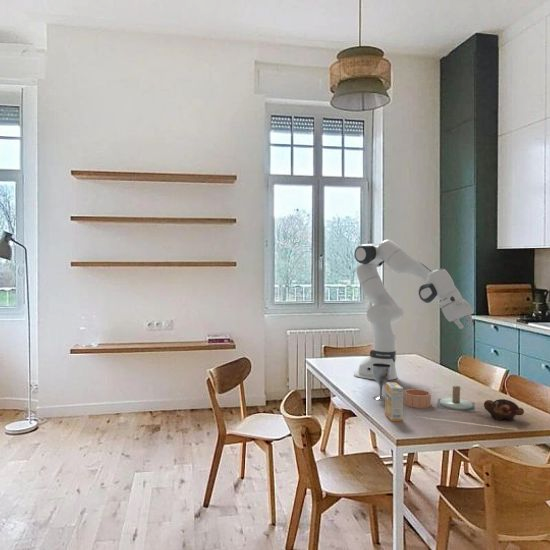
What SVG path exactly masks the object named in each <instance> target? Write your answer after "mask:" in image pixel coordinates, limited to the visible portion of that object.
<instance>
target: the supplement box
mask: <svg viewBox="0 0 550 550" xmlns="http://www.w3.org/2000/svg"><path fill="white" fill-rule="evenodd" d="M384 394H385V395H384V397H385V401H384V415H385V416H386V417H387V418H388V419H389V420H390V421H391V422H403V416H404V414H403V412H404V387H403V386H402V385H400V384H399V383H397V382H385V392H384Z"/></svg>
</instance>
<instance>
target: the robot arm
mask: <svg viewBox="0 0 550 550" xmlns="http://www.w3.org/2000/svg"><path fill="white" fill-rule="evenodd" d="M353 257H354V259H355V260H356V262H357V263H359V264H358V265H357V266H356V270H355V271H356V276H357V278H358V281H359V284H360V287H361V288H362V291H363V293H364V296H365V297H366V299H367V300H368V301H370V302H371V303H372V304H373V305H371V306H370V307H369V308H368V309H367V310H366V319H367V320H368V322H369V323H370V325H371V327H372V333H373V348H371V349H370V350H369V356H368V357H367V358H365V359H363V360H362V361H361V362H360V363H359V365H358V370H356V371H355V372H353V373H354V374H353V376H354V377H356V378H362V379H368V380H374V381H376V379H375V378H374V376H373V370H372V365H373V364H374V363H384V364H389V365H391V371H390V376H389V378H388V380H387V381H390V380H391V381H392V380H397V379H398V374H397V368H396V361H397V352H396V351H397V350H396V335H395V334H394V332H393V329H392V324H395V323H398V322H399V321H400V320H401V319H402V318H403V316H404V309H403V307H402V306H401V305H400V304H398V303H397V302H396V301H395V299H394V298H393V297H392V296H391V295H390V294H389V292H388V291H387V288H386V287H385V285H384V283H383V281H382V279H381V276H380V274H379V272H378V269H377V268H378V267H382V265H383V264H384V263H385V264H386V265H387V266H389V268H390V269H392V270H393V271H394V272H396V273H397V274H409V275H414V276H416V277H418V278H419V279H421V280H422V281H424V283H423V284H422V285H421V286H419V288H418V296H419V298H420V300H421V301H422V302H423V303H426V304H430V303H431V304H432V303H435V302H438V304H437V305H438V308H439V309H441V312H442V314H443V316H444V317H445V319H446V320H447V321H448V322H450V323H451V322H453V323H454V324H455V325H456V326H457V327H458V329H460V330H462V329H463V328H465V326H464V323H462V322H461V320H460V319H462V318H465V319H466V321H467V324H468V326H472V325H474V322H473V319H472V314H474V309H473V308H472V306H471V304H470V303H469V302H468V301H467V299H464V298H463V297H462V293H460V290H459V289H458V287H456V285H455V283H454V280H453V278H452V277H451V275H450V273H449V272H448V271H447V270H446V269H445V268H438V269H434V270H431V269H429V268H428V267H427V266H426V265H424V264H423V263H422V262H420V261H419V260H417V259H416V258H414V257H413V256H411V255H410V254H409V253H407V251H405V250H404V249H403V248H402V246H400V245H399V244H397V243H396V242H394V241H393V240H391V239H385V240H382V241H381V242H380V243H375V242H374V243H373V242H372V243H371V242H370V243H365V244H360V245H358V246H357V247H356V248H355V250H354V253H353Z"/></svg>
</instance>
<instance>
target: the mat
mask: <svg viewBox="0 0 550 550" xmlns="http://www.w3.org/2000/svg"><path fill="white" fill-rule="evenodd" d="M441 399H442V398H438V399H437V402H436V409H443V410H451V411H457V412H466V413H467V412H468V413H476V405H475V404H476V403H475V402H471V401H470V402H471V403H472V408H471V409H468V410H456V409H450V408H446V407H443V406H441V405H440V400H441Z"/></svg>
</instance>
